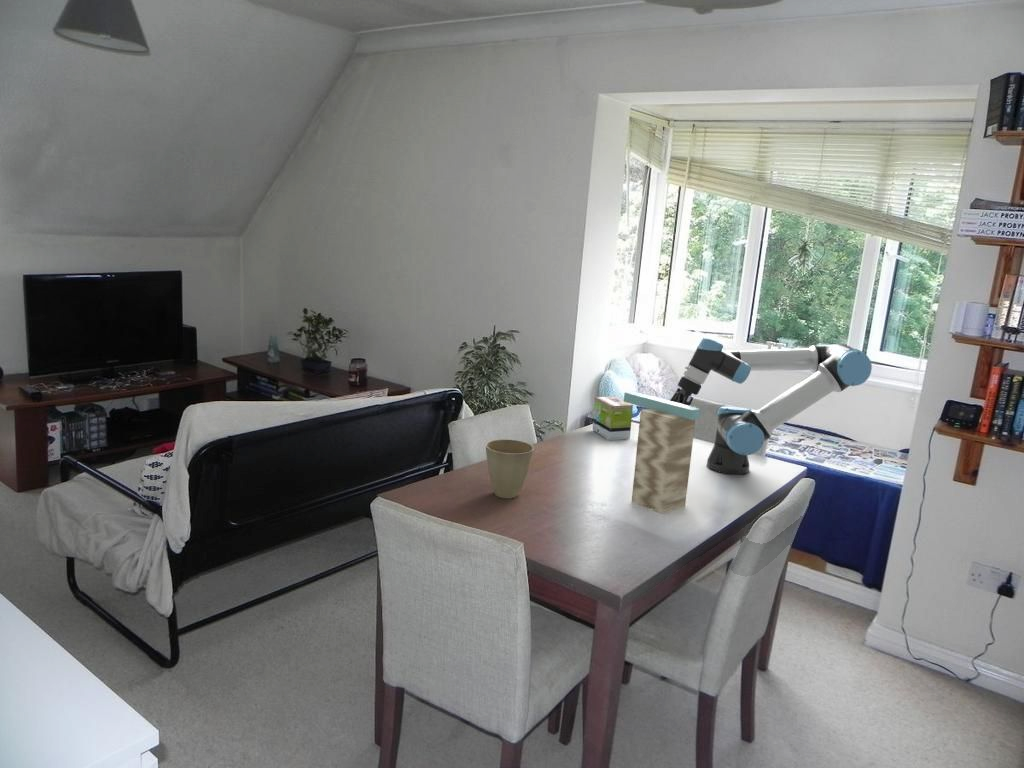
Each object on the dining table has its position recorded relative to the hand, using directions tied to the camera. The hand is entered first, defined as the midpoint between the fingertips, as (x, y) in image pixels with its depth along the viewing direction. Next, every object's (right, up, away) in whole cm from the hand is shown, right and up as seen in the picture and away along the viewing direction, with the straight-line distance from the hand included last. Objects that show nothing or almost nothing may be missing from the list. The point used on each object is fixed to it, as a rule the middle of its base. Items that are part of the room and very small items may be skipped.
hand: (663, 434), depth 273 cm
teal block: (-6, +10, -29) cm, 31 cm away
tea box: (-12, -4, +52) cm, 53 cm away
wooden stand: (-6, -20, -25) cm, 33 cm away
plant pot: (-54, -17, -26) cm, 63 cm away
